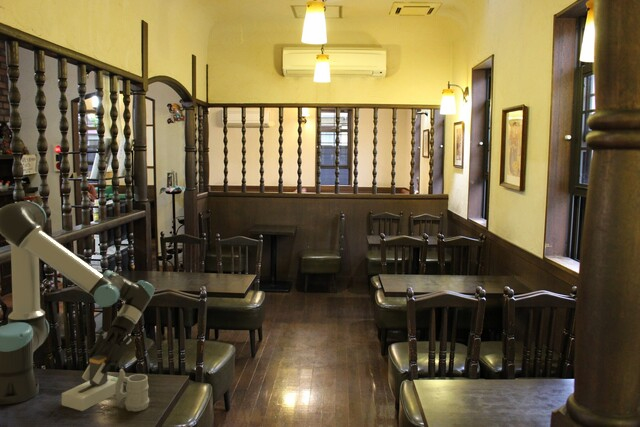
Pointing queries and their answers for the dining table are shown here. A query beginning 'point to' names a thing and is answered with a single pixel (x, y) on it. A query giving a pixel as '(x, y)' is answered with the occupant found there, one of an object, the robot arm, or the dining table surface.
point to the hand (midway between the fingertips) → (90, 380)
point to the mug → (133, 391)
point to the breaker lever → (94, 367)
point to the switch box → (89, 394)
